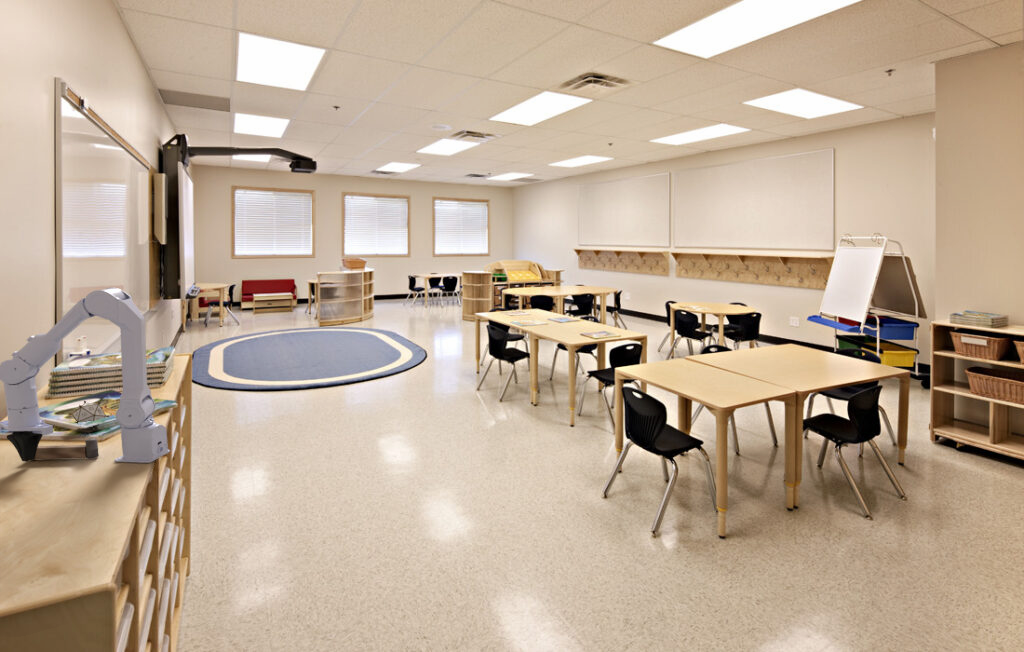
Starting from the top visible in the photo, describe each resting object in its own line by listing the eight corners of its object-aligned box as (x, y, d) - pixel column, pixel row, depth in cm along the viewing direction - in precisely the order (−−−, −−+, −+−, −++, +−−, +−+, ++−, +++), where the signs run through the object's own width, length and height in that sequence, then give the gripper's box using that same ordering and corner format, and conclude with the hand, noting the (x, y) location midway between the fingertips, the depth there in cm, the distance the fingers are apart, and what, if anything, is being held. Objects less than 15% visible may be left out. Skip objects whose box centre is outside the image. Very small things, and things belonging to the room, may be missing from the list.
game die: (86, 439, 163) (76, 409, 165) (117, 426, 166) (107, 397, 168) (69, 434, 155) (59, 403, 157) (102, 420, 158) (92, 390, 160)
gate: (100, 455, 141) (99, 438, 140) (95, 459, 138) (93, 441, 138) (32, 457, 139) (30, 439, 138) (25, 460, 136) (23, 443, 136)
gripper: (63, 404, 134) (68, 456, 136) (16, 399, 137) (22, 451, 139) (33, 412, 127) (39, 467, 129) (-16, 407, 130) (-9, 461, 132)
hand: (28, 460), depth 133 cm, fingers closed
